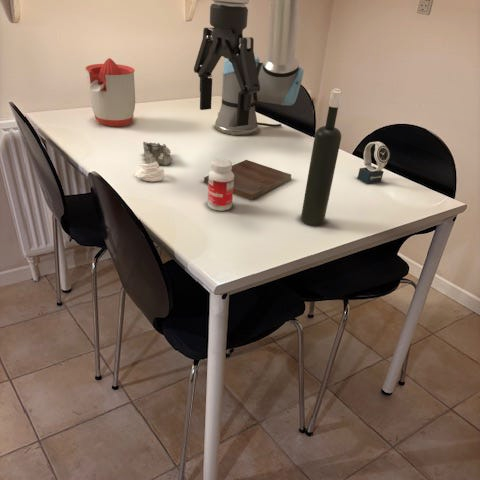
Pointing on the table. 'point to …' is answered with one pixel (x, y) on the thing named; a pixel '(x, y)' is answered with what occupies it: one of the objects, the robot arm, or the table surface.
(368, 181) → the watch
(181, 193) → the table surface
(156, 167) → the cream folded ring
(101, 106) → the citrus juicer
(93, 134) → the table surface
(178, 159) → the table surface
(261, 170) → the walnut board
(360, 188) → the table surface
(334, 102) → the wine bottle
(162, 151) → the egg carton
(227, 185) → the pill bottle
